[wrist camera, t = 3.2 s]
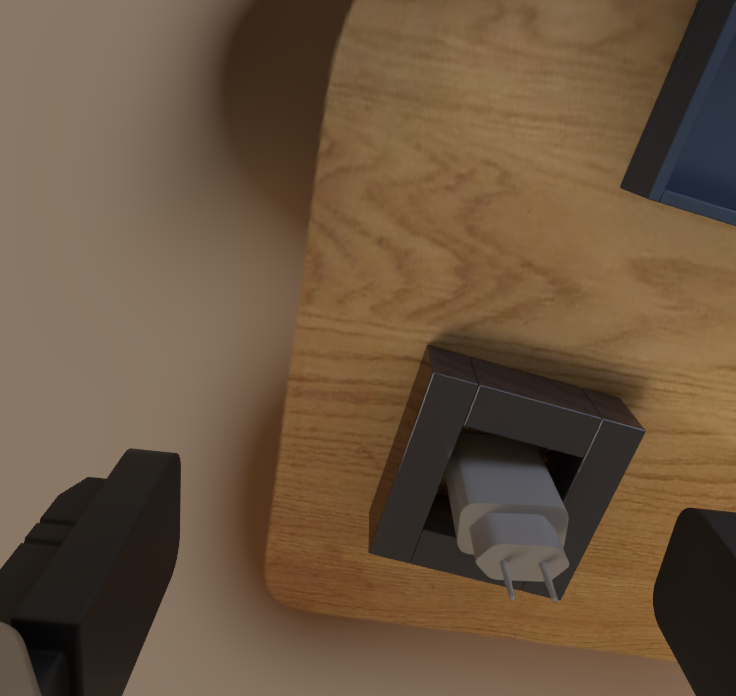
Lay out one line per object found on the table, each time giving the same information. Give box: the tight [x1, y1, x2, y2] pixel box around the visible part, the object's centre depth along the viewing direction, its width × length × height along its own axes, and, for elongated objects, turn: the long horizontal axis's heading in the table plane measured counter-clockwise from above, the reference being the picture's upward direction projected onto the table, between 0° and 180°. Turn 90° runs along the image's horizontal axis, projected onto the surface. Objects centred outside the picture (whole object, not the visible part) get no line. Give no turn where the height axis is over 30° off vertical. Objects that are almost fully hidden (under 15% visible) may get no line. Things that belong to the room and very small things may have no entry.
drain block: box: [368, 345, 645, 600], centre depth 38 cm, size 12×12×4 cm
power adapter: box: [445, 433, 569, 602], centre depth 34 cm, size 3×5×12 cm, turn 88°
